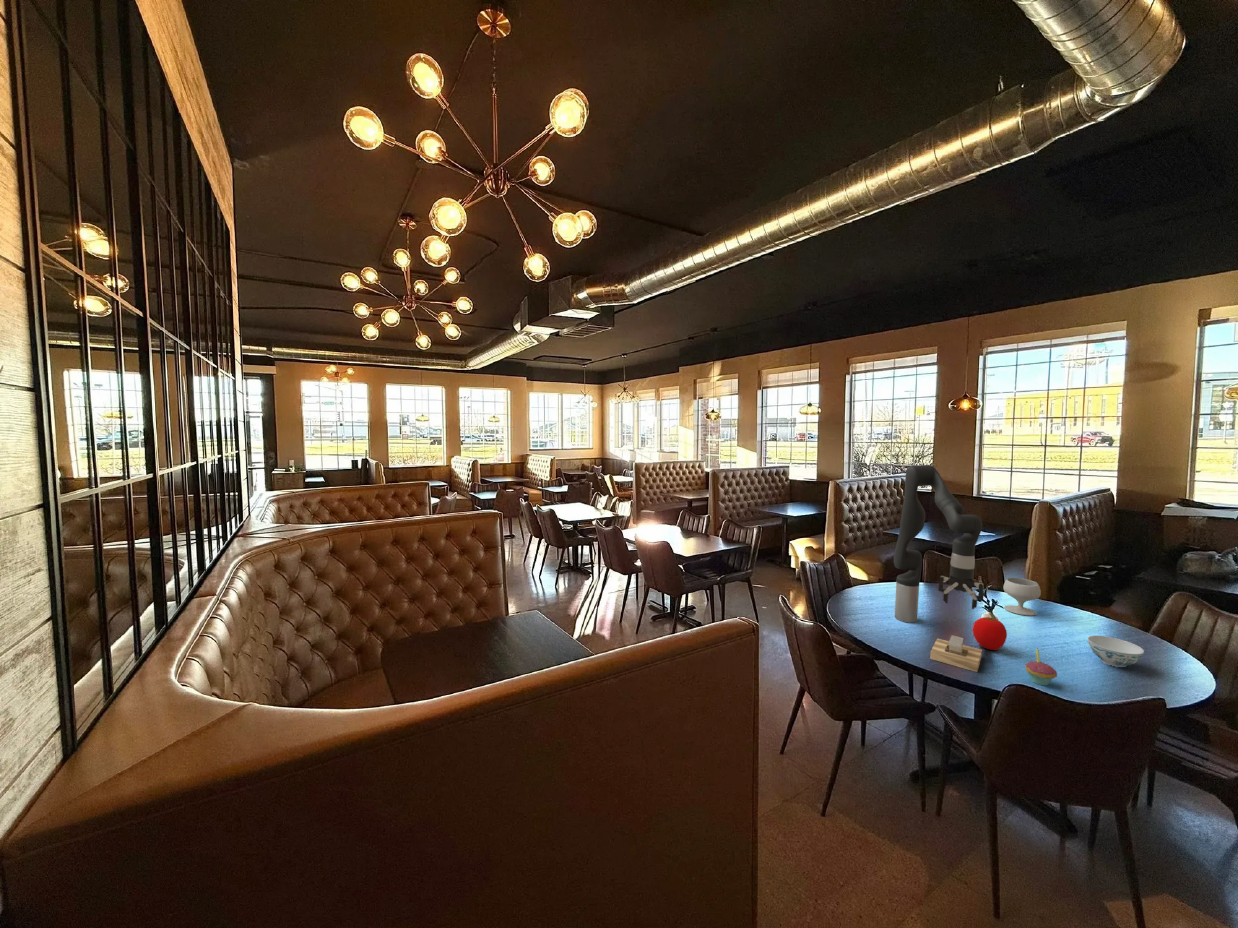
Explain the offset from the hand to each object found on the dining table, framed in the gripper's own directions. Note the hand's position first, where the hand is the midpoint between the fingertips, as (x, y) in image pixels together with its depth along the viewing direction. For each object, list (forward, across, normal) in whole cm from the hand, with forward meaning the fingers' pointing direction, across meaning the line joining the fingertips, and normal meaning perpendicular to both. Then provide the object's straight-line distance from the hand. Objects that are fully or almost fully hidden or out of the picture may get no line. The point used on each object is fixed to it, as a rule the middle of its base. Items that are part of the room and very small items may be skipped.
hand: (959, 605), depth 187 cm
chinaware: (+22, -46, -35) cm, 62 cm away
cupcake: (+22, -25, +1) cm, 33 cm away
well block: (+22, 0, 0) cm, 22 cm away
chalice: (+22, -17, -76) cm, 81 cm away
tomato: (+22, -9, -19) cm, 30 cm away
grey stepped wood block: (+22, 0, 0) cm, 22 cm away
